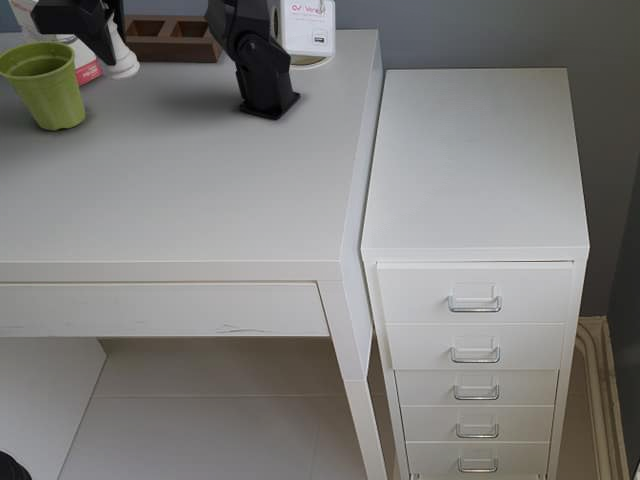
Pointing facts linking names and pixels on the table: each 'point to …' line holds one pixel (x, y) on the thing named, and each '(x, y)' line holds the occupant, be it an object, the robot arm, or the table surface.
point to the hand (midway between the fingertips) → (117, 56)
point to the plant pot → (45, 82)
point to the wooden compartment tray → (171, 38)
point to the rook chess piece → (119, 56)
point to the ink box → (84, 59)
